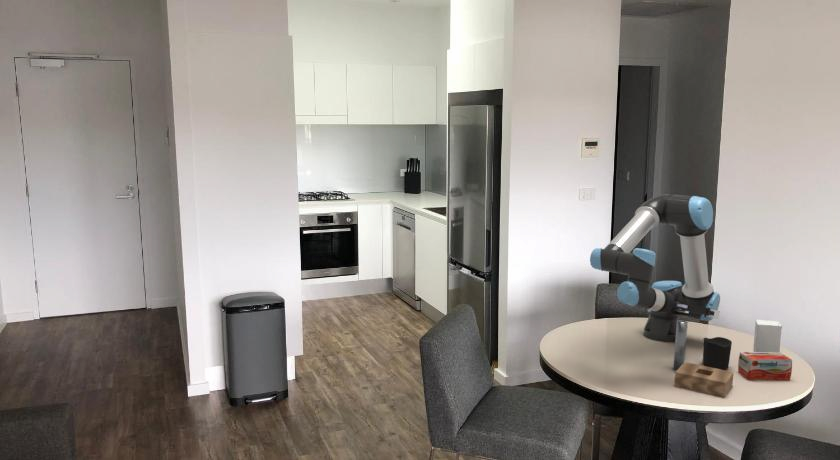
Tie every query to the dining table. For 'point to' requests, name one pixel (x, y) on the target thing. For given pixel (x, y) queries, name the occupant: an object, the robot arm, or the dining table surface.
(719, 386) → the socket block
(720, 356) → the pen holder
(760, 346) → the skincare box
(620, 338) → the dining table surface
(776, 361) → the medicine box
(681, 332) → the pin
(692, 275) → the robot arm
